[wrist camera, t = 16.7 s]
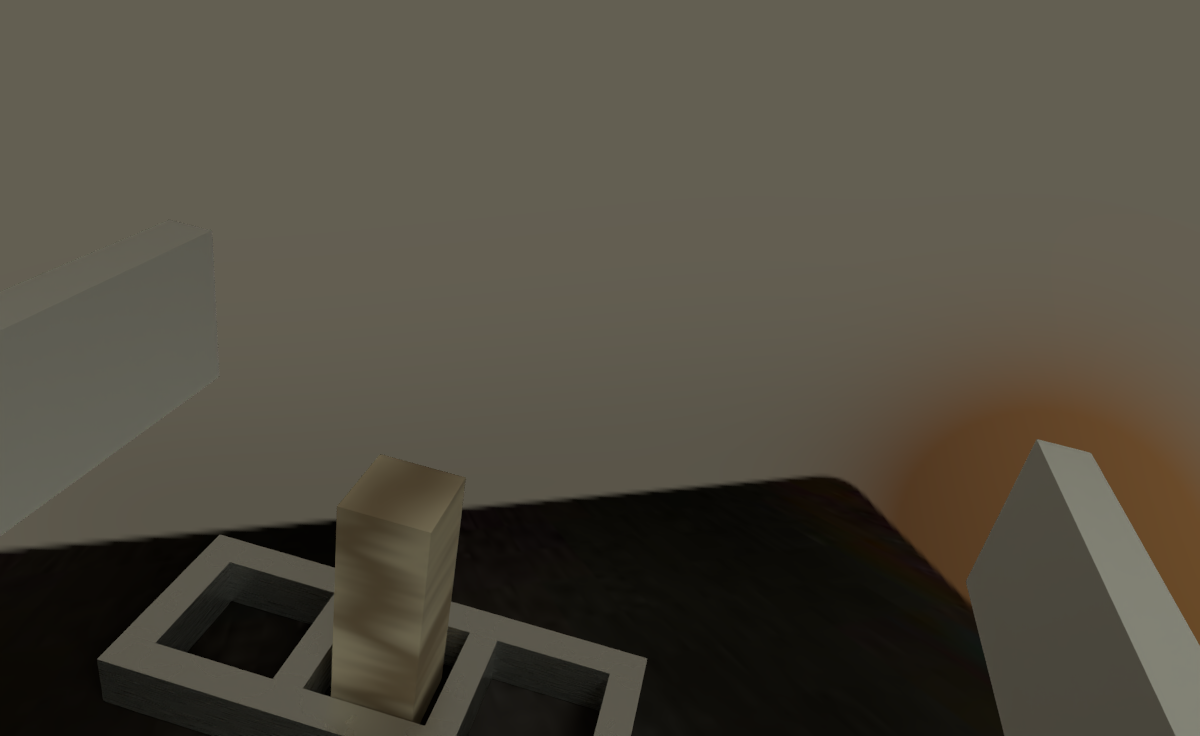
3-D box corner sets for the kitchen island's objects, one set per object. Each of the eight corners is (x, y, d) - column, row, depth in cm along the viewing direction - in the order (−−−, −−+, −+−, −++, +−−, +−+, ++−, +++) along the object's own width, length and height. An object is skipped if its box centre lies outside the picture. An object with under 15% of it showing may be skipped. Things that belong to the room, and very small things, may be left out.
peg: (441, 679, 47) (465, 477, 41) (409, 744, 44) (431, 532, 37) (367, 657, 48) (380, 454, 41) (330, 719, 44) (337, 506, 37)
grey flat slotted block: (637, 695, 49) (647, 658, 47) (601, 859, 40) (612, 820, 39) (222, 572, 51) (220, 534, 50) (103, 701, 43) (96, 659, 41)
